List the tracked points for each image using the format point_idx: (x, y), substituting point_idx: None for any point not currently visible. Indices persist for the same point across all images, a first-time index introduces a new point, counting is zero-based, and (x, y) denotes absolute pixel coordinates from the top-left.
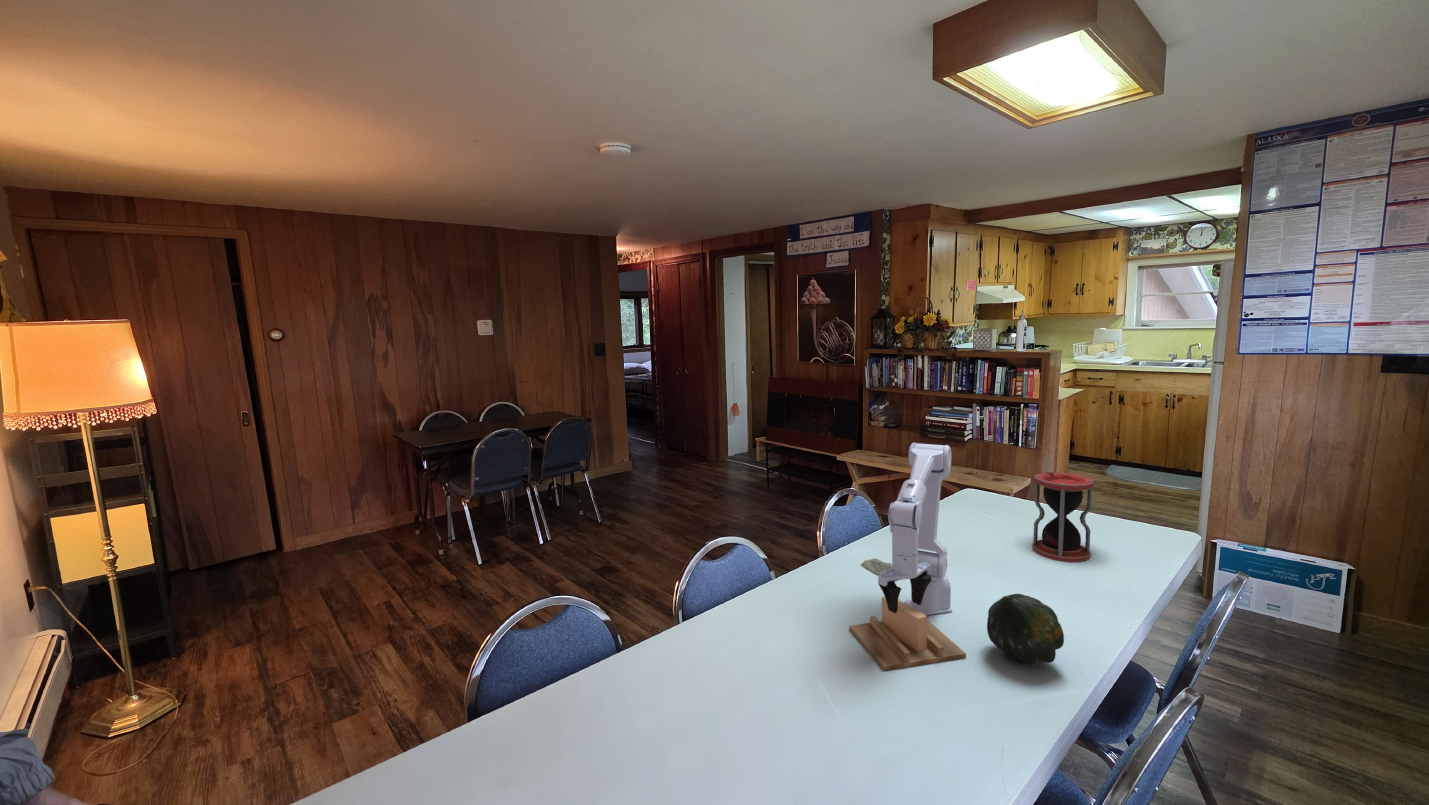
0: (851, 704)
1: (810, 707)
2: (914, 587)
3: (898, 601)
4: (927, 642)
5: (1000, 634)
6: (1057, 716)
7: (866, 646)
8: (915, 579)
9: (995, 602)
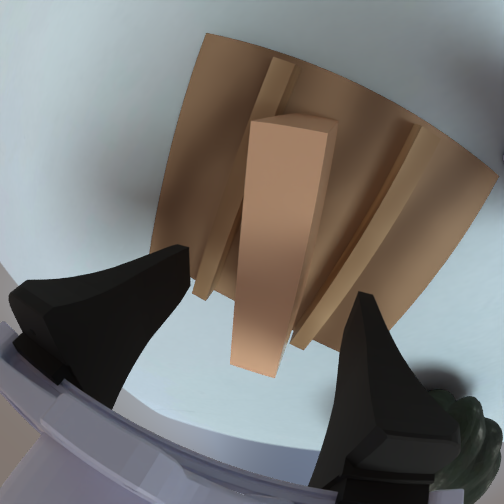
0: (72, 260)
1: (35, 224)
2: (352, 375)
3: (294, 232)
4: (320, 293)
5: None
6: (298, 444)
7: (168, 161)
8: (340, 442)
9: (434, 487)
